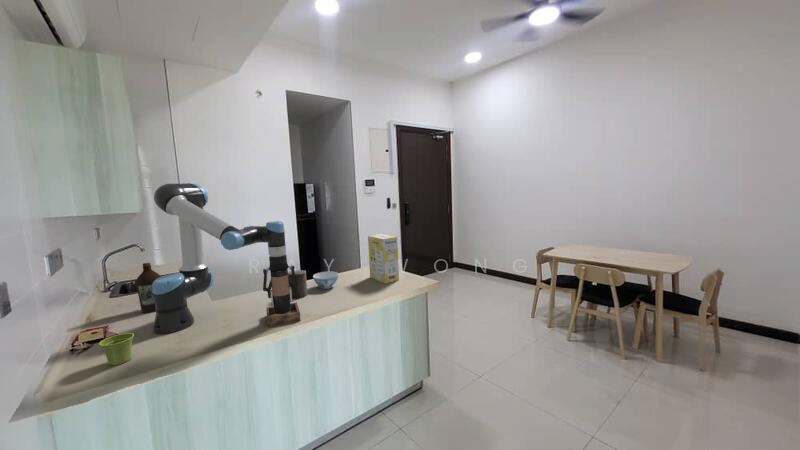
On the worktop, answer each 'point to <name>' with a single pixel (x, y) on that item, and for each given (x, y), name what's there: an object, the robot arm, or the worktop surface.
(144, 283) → the olive oil
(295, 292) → the pillar candle
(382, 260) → the pasta box
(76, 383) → the worktop surface
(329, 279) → the chinaware
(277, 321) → the walnut caddy
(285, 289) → the travel mug
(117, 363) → the plant pot
